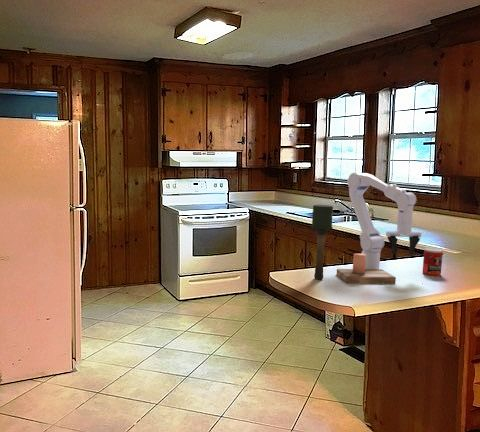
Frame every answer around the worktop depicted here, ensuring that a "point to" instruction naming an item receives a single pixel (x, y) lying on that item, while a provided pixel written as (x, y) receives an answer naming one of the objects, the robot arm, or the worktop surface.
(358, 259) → the peg
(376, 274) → the board
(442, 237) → the worktop surface
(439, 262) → the canned food
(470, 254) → the worktop surface
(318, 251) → the potato masher grenade
